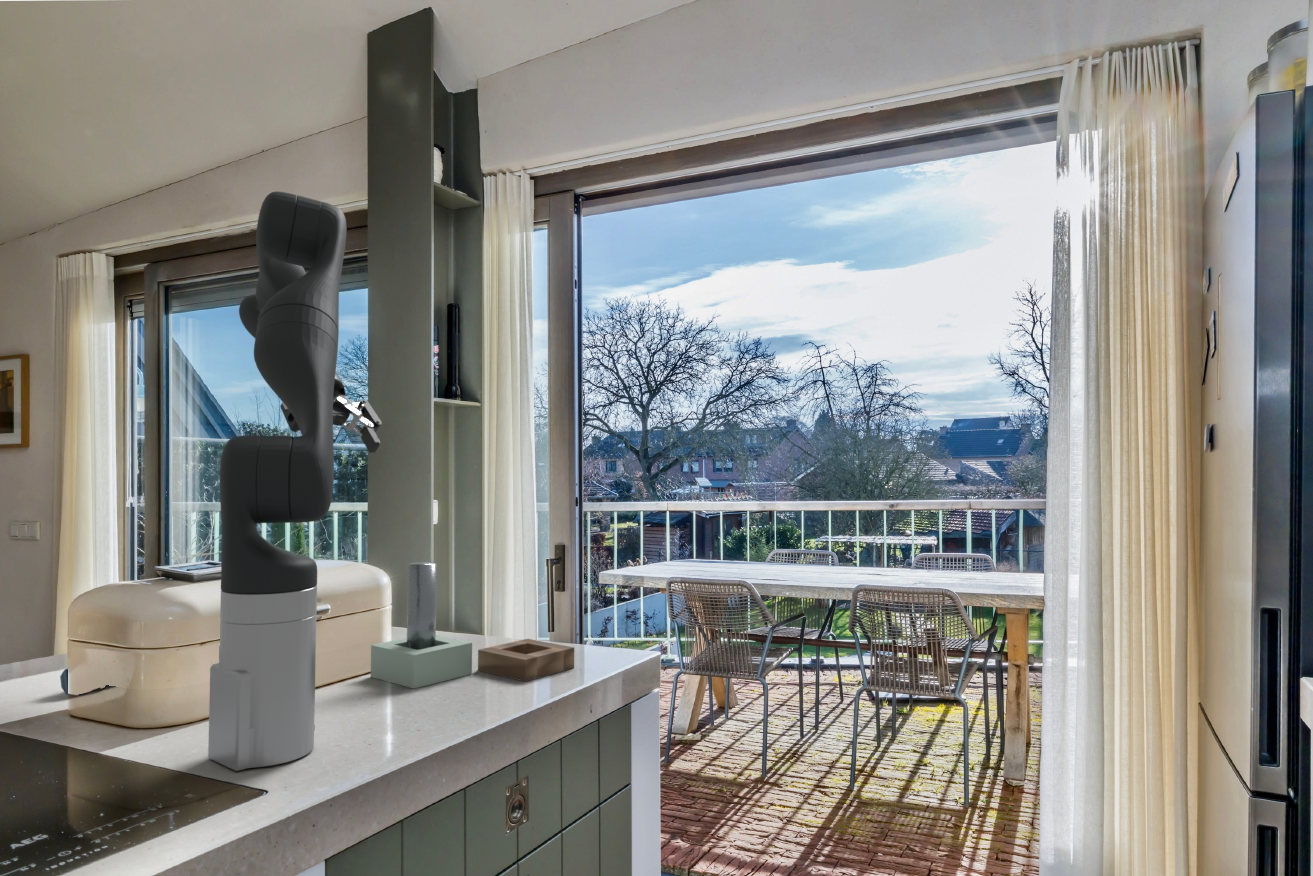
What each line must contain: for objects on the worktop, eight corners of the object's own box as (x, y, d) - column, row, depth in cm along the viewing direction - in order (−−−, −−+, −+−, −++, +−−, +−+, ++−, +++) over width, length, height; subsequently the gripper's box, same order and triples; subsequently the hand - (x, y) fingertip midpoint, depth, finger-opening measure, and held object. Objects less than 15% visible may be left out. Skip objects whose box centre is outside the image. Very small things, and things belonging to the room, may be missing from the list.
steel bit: (417, 680, 116) (419, 566, 117) (400, 675, 118) (402, 563, 119) (440, 674, 119) (442, 563, 120) (423, 670, 122) (425, 561, 122)
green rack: (413, 688, 112) (414, 655, 112) (370, 676, 118) (371, 644, 118) (471, 674, 120) (472, 642, 120) (428, 663, 126) (428, 633, 126)
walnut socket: (525, 681, 116) (525, 659, 116) (477, 670, 122) (478, 649, 122) (574, 667, 124) (574, 647, 124) (527, 657, 130) (527, 638, 130)
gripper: (276, 354, 125) (316, 428, 117) (360, 363, 136) (401, 432, 129) (257, 391, 128) (295, 465, 120) (341, 397, 139) (381, 466, 132)
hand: (350, 448), depth 124 cm, fingers open, 8 cm apart
